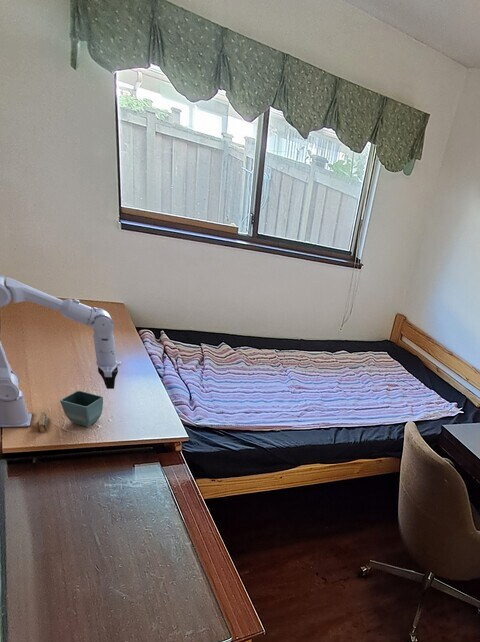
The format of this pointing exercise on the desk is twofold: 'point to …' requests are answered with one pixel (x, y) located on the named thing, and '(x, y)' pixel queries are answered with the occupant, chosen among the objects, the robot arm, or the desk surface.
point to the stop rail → (43, 422)
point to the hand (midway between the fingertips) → (110, 387)
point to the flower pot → (82, 407)
